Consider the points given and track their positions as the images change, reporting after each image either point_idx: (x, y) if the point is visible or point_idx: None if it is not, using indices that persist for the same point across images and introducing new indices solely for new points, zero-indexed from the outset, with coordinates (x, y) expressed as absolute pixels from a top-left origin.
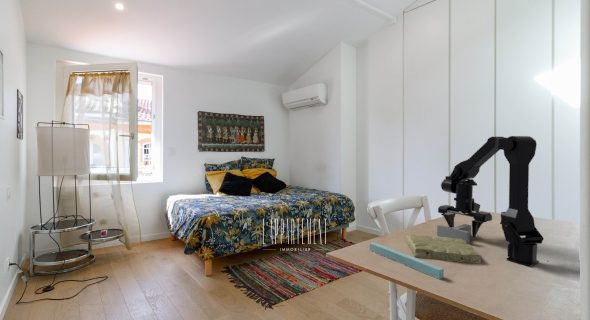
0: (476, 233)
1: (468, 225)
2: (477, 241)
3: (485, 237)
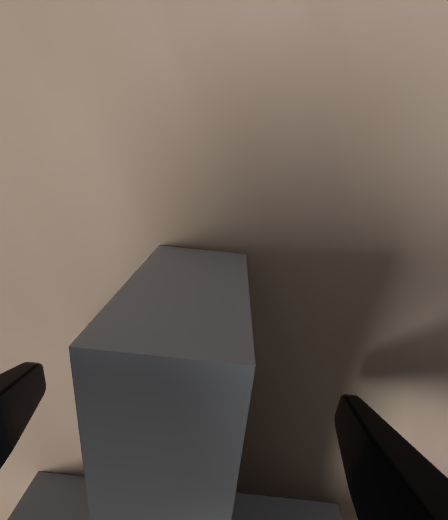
0: (397, 442)
1: (208, 424)
2: (377, 398)
3: (427, 132)
